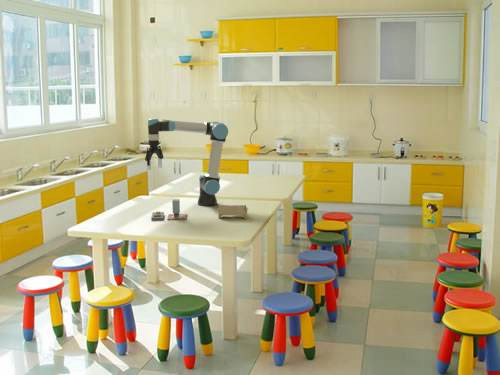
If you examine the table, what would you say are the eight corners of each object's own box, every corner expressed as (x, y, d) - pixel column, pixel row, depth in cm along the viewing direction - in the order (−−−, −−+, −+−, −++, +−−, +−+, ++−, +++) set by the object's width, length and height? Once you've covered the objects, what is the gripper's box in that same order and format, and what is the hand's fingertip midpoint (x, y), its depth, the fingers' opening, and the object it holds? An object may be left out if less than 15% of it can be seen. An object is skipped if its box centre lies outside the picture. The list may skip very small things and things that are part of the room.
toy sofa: (248, 216, 460) (248, 202, 458) (247, 219, 451) (247, 205, 450) (219, 216, 462) (218, 202, 460) (217, 219, 453) (217, 204, 451)
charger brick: (179, 215, 459) (179, 199, 457) (179, 216, 454) (179, 200, 452) (173, 215, 459) (172, 199, 457) (172, 217, 454) (172, 200, 452)
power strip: (152, 216, 465) (152, 211, 464) (164, 216, 465) (163, 211, 465) (151, 222, 447) (151, 216, 446) (163, 221, 448) (163, 216, 447)
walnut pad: (187, 215, 465) (186, 213, 464) (186, 220, 449) (186, 218, 449) (168, 215, 464) (168, 214, 464) (167, 220, 448) (167, 219, 448)
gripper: (159, 138, 484) (160, 166, 488) (139, 141, 462) (140, 170, 466) (167, 138, 481) (168, 166, 485) (147, 141, 459) (149, 171, 463)
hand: (154, 168), depth 475 cm, fingers open, 13 cm apart
